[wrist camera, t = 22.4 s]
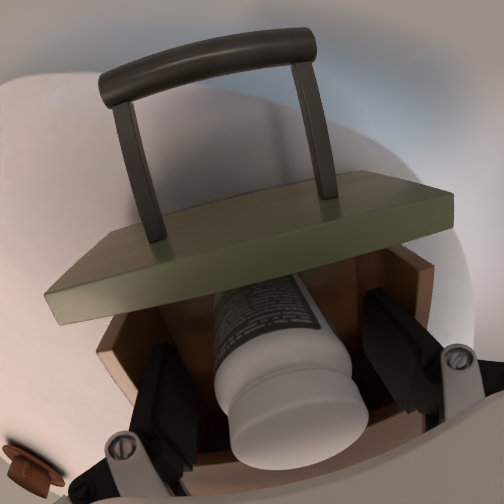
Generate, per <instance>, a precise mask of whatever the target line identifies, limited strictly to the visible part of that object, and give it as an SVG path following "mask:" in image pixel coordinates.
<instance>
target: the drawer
mask: <svg viewBox="0 0 504 504" xmlns="http://www.w3.org/2000/svg"><path fill="white" fill-rule="evenodd" d="M316 55H317V46H316V41H315V37H314V35H313V33H312V31H311V30H310V29H309V28H306V27H305V28H304V27H303V28H284V29H273V30H262V31H254V32H247V33H240V34H234V35H229V36H223V37H217V38H212V39H208V40H203V41H199V42H195V43H191V44H187V45H183V46H179V47H176V48H172V49H169V50H165V51H162V52H159V53H156V54H153V55H150V56H147V57H144V58H141V59H138V60H135V61H133V62H130V63H128V64H125V65H122V66H120V67H117V68H115V69H112V70H110V71H108V72H106V73H103V74H101V75H100V77H99V81H98V85H99V92H100V95H101V98H102V100H103V102H104V104H105V105H106V107H107V108H108V109H113V114H114V119H115V124H116V128H117V133H118V137H119V141H120V146H121V150H122V154H123V158H124V162H125V166H126V169H127V173H128V177H129V180H130V184H131V188H132V191H133V194H134V198H135V201H136V205H137V208H138V211H139V214H140V217H141V221H142V222H141V223H137V224H134V225H131V226H128V227H124V228H121V229H118V230H115V231H112V232H110V233H109V234H108V235H107V236H106V237H104V238H103V239H102V240H101V241H100V242H99V243H97V244H96V245H95V246H94V247H93V248H92V249H91V250H90V251H88V252H87V253H86V254H85V255H84V256H83V257H82V258H81V259H80V260H78V261H77V262H76V263H75V264H74V265H73V266H72V267H71V268H70V269H69V270H68V271H67V272H66V273H65V274H64V275H63V276H61V277H60V278H59V279H58V280H57V281H56V282H55V283H54V284H53V285H52V286H51V287H50V288H49V289H48V290H47V291H46V292H45V293H44V297H45V299H46V301H47V303H48V305H49V307H50V309H51V311H52V313H53V315H54V317H55V319H56V320H57V322H58V324H59V325H66V324H71V323H76V322H82V321H87V320H92V319H97V318H102V317H107V316H112V315H114V317H113V318H112V320H111V322H110V324H109V326H108V328H107V330H106V332H105V334H104V335H103V337H102V339H101V341H100V343H99V345H98V347H97V349H96V354H97V355H98V357H99V358H100V360H101V362H102V363H103V365H104V366H105V368H106V369H107V371H108V372H109V374H110V375H111V377H112V378H113V380H114V381H115V382H116V384H117V385H118V387H119V388H120V389H121V391H122V392H123V394H124V395H125V396H126V398H127V399H128V400H129V402H130V403H131V404H132V406H133V407H134V405H135V401H136V397H137V393H138V389H139V385H140V382H141V379H143V378H144V377H145V373H146V369H147V365H148V362H149V358H150V354H151V351H152V347H153V345H154V344H157V343H162V342H168V343H169V344H170V345H172V344H173V345H174V346H175V348H176V350H177V352H178V354H179V356H180V358H181V360H182V362H183V364H184V366H185V368H186V370H187V372H188V373H189V375H190V377H191V379H192V381H193V383H194V385H195V387H196V388H197V391H198V425H197V453H207V452H216V451H224V450H231V442H230V431H229V421H228V416H227V415H226V414H225V412H224V411H223V410H222V409H221V407H220V405H219V404H218V401H217V398H216V395H215V388H214V313H213V312H214V310H213V305H214V295H215V293H217V292H222V291H226V290H230V289H234V288H238V287H242V286H246V285H250V284H254V283H258V282H262V281H266V280H270V279H274V278H278V277H282V276H286V275H290V274H294V273H298V272H299V274H300V275H301V276H302V277H303V279H304V280H305V282H306V284H307V285H308V287H309V289H310V290H311V292H312V294H313V295H314V297H315V299H316V300H317V302H318V304H319V305H320V307H321V308H322V310H323V312H324V313H325V315H326V317H327V318H328V320H329V321H330V323H331V325H332V326H333V328H334V329H335V331H336V333H337V334H338V336H339V337H340V339H341V340H342V342H343V344H344V346H345V348H346V349H347V351H348V353H349V356H350V359H351V363H352V376H351V379H352V380H353V381H354V382H355V384H356V385H357V387H358V390H359V393H360V395H361V397H362V399H363V401H364V403H365V406H366V408H367V410H368V413H369V412H372V411H374V410H376V409H379V408H381V407H384V406H386V405H388V404H390V403H393V402H395V400H394V398H393V397H392V395H391V394H390V392H389V390H388V389H387V387H386V386H385V384H384V382H383V381H382V379H381V378H380V376H379V375H378V373H377V371H376V370H375V368H374V367H373V365H372V364H371V362H370V361H369V359H368V358H367V356H366V354H365V353H364V350H363V296H365V295H366V292H367V291H368V290H371V289H374V288H377V287H381V288H383V289H384V290H385V291H386V292H387V293H388V294H389V295H390V296H391V297H392V298H393V299H394V300H395V301H396V302H397V303H398V304H399V305H400V306H401V307H402V308H403V309H404V310H405V311H407V312H409V313H410V314H411V315H412V316H413V317H414V318H415V319H416V320H417V321H418V322H419V323H420V324H421V325H422V326H423V327H424V328H425V329H426V330H427V324H428V318H429V312H430V305H431V297H432V288H433V279H434V265H432V264H431V263H429V262H428V261H426V260H425V259H423V258H421V257H420V256H418V255H417V254H415V253H414V252H412V251H411V250H409V249H407V248H406V247H404V246H403V245H401V243H405V242H408V241H411V240H414V239H418V238H421V237H424V236H428V235H431V234H434V233H437V232H440V231H444V230H447V229H450V228H453V226H454V194H453V193H451V192H447V191H444V190H440V189H437V188H433V187H430V186H426V185H422V184H419V183H415V182H411V181H407V180H403V179H399V178H395V177H390V176H386V175H381V174H377V173H372V172H367V171H363V170H362V171H356V172H350V173H345V174H339V175H335V168H334V162H333V157H332V151H331V146H330V140H329V135H328V130H327V125H326V121H325V116H324V111H323V107H322V102H321V99H320V94H319V90H318V86H317V82H316V78H315V74H314V70H313V67H312V62H314V61H315V59H316ZM286 65H292V66H291V70H292V74H293V78H294V82H295V86H296V90H297V94H298V99H299V102H300V107H301V111H302V116H303V120H304V125H305V130H306V134H307V139H308V144H309V149H310V154H311V160H312V165H313V170H314V176H315V179H313V180H308V181H303V182H298V183H294V184H289V185H284V186H280V187H275V188H271V189H266V190H262V191H257V192H253V193H249V194H245V195H240V196H236V197H232V198H228V199H224V200H220V201H216V202H212V203H208V204H205V205H201V206H197V207H193V208H190V209H186V210H182V211H179V212H175V213H171V214H168V215H164V216H162V214H161V211H160V208H159V204H158V201H157V197H156V194H155V190H154V187H153V183H152V180H151V176H150V172H149V168H148V165H147V161H146V157H145V153H144V149H143V145H142V141H141V136H140V132H139V128H138V124H137V119H136V115H135V110H134V105H133V103H131V102H133V101H136V100H139V99H141V98H144V97H147V96H150V95H153V94H156V93H159V92H162V91H165V90H169V89H172V88H175V87H179V86H182V85H186V84H190V83H194V82H197V81H201V80H206V79H210V78H214V77H218V76H223V75H228V74H233V73H238V72H244V71H250V70H256V69H262V68H269V67H278V66H286Z"/></svg>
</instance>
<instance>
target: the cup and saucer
mask: <svg viewBox="0 0 504 504" xmlns="http://www.w3.org/2000/svg"><path fill="white" fill-rule="evenodd" d="M2 449H3V451H4V453H5V454H6V455H7V456H8V457H9V458H10V459H11V460H12V463H11V465H10V468H9V470H8V474H7V475H8V477H9V478H10V479H11V480H13V481H14V482H15V483H17V484H18V485H20V486H21V487H23V488H24V489H26V490H27V491H29V492H31V493H33V494H35V495H37V496H39V497H42V498H45V499H46V498H47V495H48V491H49V487H50V484H52V485H55V486H59V487H64V486H65V482H64V480H63V479H62V477H61V476H60V475H59V474H58V473H57V472H56V471H55V470H54V469H53V468H51V467H50V466H49V465H47V464H46V463H45V462H43V461H42V460H40V459H39V458H37V457H35V456H34V455H32V454H30V453H28V452H27V451H25V450H23V449H20V448H18V447H16V446H12V445H4V446H3V447H2Z"/></svg>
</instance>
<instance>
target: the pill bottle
mask: <svg viewBox="0 0 504 504" xmlns="http://www.w3.org/2000/svg"><path fill="white" fill-rule="evenodd" d="M213 310H214V312H213V313H214V388H215V395H216V398H217V401H218V404H219V405H220V407H221V409H222V410H223V411H224V412H225V414H226V415H227V416H228V421H229V431H230V442H231V449H232V452H233V454H234V455H235V457H236V458H237V459H238V460H239V461H241V462H243V463H245V464H246V465H249V466H251V467H255V468H259V469H267V470H286V469H295V468H300V467H304V466H308V465H312V464H315V463H318V462H321V461H323V460H326V459H328V458H330V457H332V456H334V455H336V454H338V453H340V452H341V451H343V450H344V449H346V448H347V447H349V446H350V445H351V444H352V443H354V442H355V441H356V440H357V439H358V438H359V437H360V436H361V434H362V433H363V432H364V430H365V428H366V426H367V424H368V420H369V414H368V410H367V408H366V406H365V403H364V401H363V399H362V397H361V395H360V393H359V390H358V387H357V385H356V384H355V382H354V381H353V380H352V379H351V376H352V363H351V359H350V356H349V353H348V351H347V349H346V348H345V346H344V344H343V342H342V340H341V339H340V337H339V336H338V334H337V333H336V331H335V329H334V328H333V326H332V325H331V323H330V321H329V320H328V318H327V317H326V315H325V313H324V312H323V310H322V308H321V307H320V305H319V304H318V302H317V300H316V299H315V297H314V295H313V294H312V292H311V290H310V289H309V287H308V285H307V284H306V282H305V280H304V279H303V277H302V276H301V275H300V274H299V272H298V273H294V274H290V275H286V276H282V277H278V278H274V279H270V280H266V281H262V282H258V283H254V284H250V285H246V286H242V287H238V288H234V289H230V290H226V291H222V292H217V293H215V295H214V305H213Z"/></svg>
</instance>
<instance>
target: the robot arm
mask: <svg viewBox="0 0 504 504" xmlns="http://www.w3.org/2000/svg"><path fill="white" fill-rule="evenodd" d="M363 350H364V353H365V354H366V356H367V358H368V359H369V361H370V362H371V364H372V365H373V367H374V368H375V370H376V371H377V373H378V375H379V376H380V378H381V379H382V381H383V382H384V384H385V386H386V387H387V389H388V390H389V392H390V394H391V395H392V397H393V398H394V400H395V402H396V403H397V405H398V406H399V408H400V409H401V410H403V409H405V411H406V412H407V414H410V413H412V412H414V411H416V410H418V412H419V413H421V414H422V434H421V435H420V436H418V437H416V438H414V439H412V440H410V441H408V442H406V443H404V444H402V445H400V446H398V447H396V448H394V449H392V450H389V451H387V452H385V453H382V454H380V455H378V456H375V457H373V458H370V459H368V460H365V461H363V462H360V463H358V464H355V465H352V466H349V467H346V468H344V469H341V470H338V471H334V472H331V473H328V474H325V475H321V476H318V477H314V478H311V479H307V480H303V481H299V482H295V483H290V484H286V485H281V486H276V487H271V488H266V489H260V490H254V491H247V492H239V493H231V494H221V495H207V496H192V495H191V493H190V492H189V490H188V489H187V487H186V486H185V484H184V483H183V481H182V480H181V478H182V477H183V472H193V465H194V464H196V463H197V425H198V391H197V388H196V387H195V385H194V383H193V381H192V379H191V377H190V375H189V373H188V372H187V370H186V368H185V366H184V364H183V362H182V360H181V358H180V356H179V354H178V352H177V350H176V348H175V346H174V345H173V344H172V345H170V344H169V343H168V342H162V343H157V344H154V345H153V347H152V351H151V354H150V358H149V362H148V365H147V369H146V373H145V377H144V378H143V379H141V382H140V385H139V389H138V393H137V397H136V401H135V405H134V410H133V414H132V418H131V423H130V427H129V431H120V432H117V433H115V434H114V435H112V436H111V437H110V438H109V439H108V441H107V442H106V444H105V449H104V450H105V455H106V457H105V458H104V459H102V460H101V461H100V462H98V463H97V464H96V465H94V466H93V467H91V468H90V469H89V470H87V471H86V472H84V473H83V474H81V475H80V476H78V477H77V478H75V479H74V480H73V481H72V482H71V484H70V486H69V489H68V496H65V495H63V496H62V497H61V498H60V499H58V500H57V501H56V502H55V503H54V504H504V362H494V361H485V360H477V356H476V354H475V352H474V351H473V350H472V349H471V348H470V347H468V346H467V345H463V344H452V345H449V346H447V347H446V348H445V349H444V348H443V347H442V346H441V345H440V343H439V342H438V341H437V340H436V339H435V338H434V337H433V336H432V335H431V334H430V333H429V332H428V331H427V330H426V329H425V328H424V327H423V326H422V325H421V324H420V323H419V322H418V321H417V320H416V319H415V318H414V317H413V316H412V315H411V314H410V313H409V312H407V311H405V310H404V309H403V308H402V307H401V306H400V305H399V304H398V303H397V302H396V301H395V300H394V299H393V298H392V297H391V296H390V295H389V294H388V293H387V292H386V291H385V290H384V289H383V288H381V287H377V288H374V289H371V290H368V291H367V292H366V295H365V296H363Z"/></svg>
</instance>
